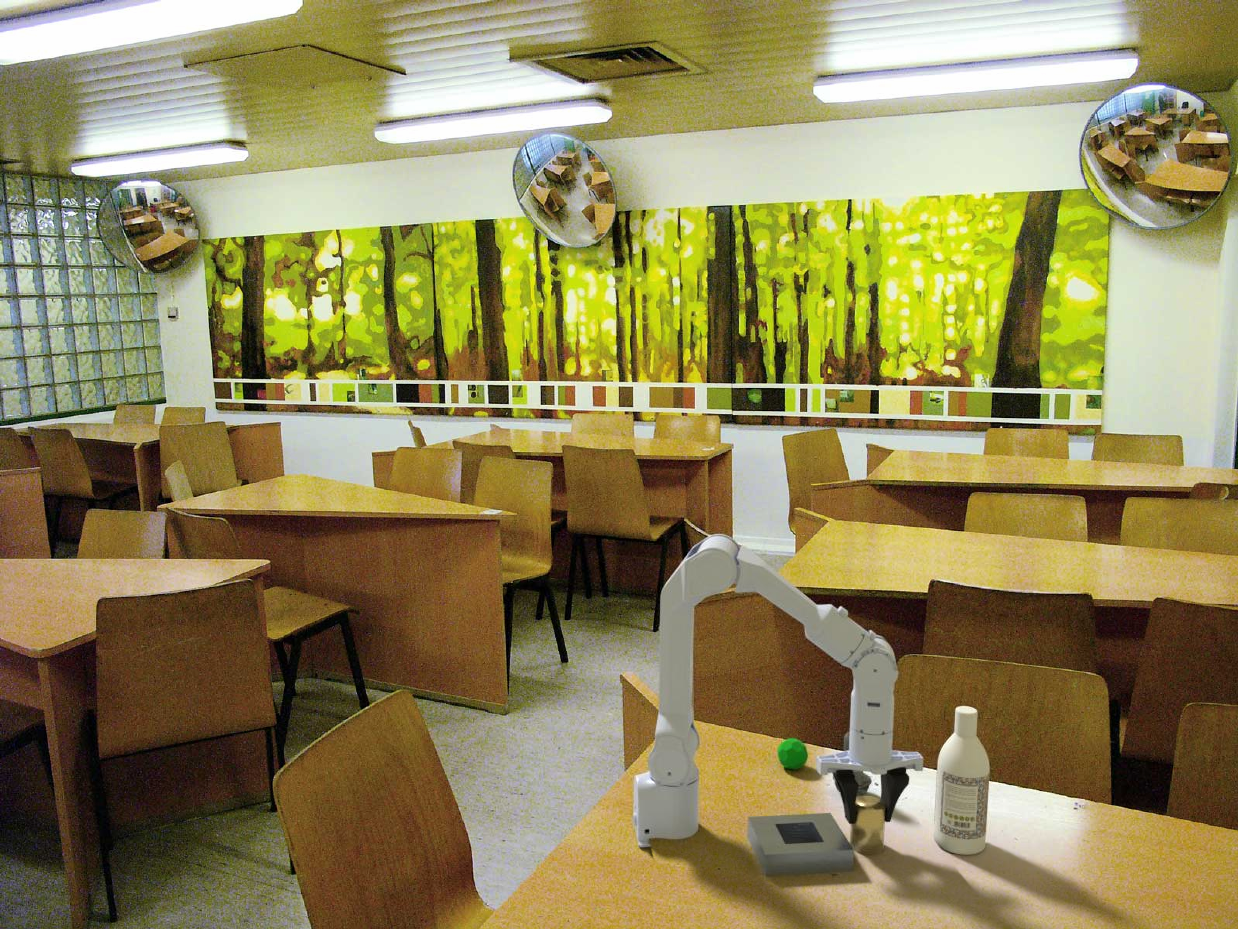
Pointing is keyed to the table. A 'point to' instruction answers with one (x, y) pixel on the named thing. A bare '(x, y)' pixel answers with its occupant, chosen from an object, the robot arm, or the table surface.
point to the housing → (799, 844)
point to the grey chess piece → (857, 773)
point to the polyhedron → (792, 753)
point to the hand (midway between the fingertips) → (867, 819)
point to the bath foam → (962, 788)
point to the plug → (868, 826)
